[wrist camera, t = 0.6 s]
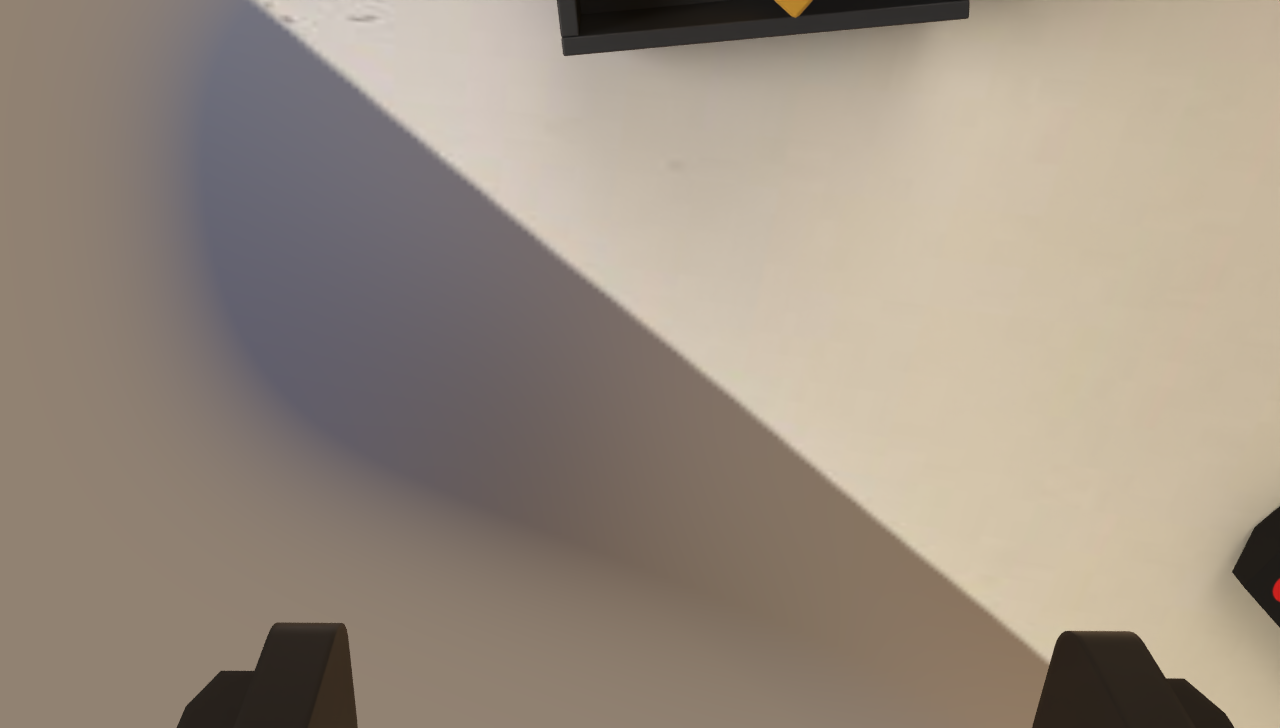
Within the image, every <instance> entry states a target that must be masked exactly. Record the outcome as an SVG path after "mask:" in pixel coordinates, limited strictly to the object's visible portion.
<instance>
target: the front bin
mask: <svg viewBox="0 0 1280 728" xmlns="http://www.w3.org/2000/svg"><path fill="white" fill-rule="evenodd" d="M557 5H558V14H559V22H560V31H561V36H562V48H563V54H564V56H570V55H581V54H592V53H603V52H614V51H624V50H635V49H646V48H657V47H667V46H678V45H689V44H700V43H710V42H721V41H732V40H743V39H753V38H764V37H775V36H786V35H796V34H807V33H818V32H829V31H839V30H850V29H861V28H872V27H882V26H893V25H904V24H915V23H925V22H936V21H947V20H958V19H967V18H968V17H969V0H813V1H812V2H811V3H810V4H809V5H808V6H807V8H806V9H805V10H804V11H803V12H802V13H801V14H800V16H798V17H796V18H795V17H792V16H791V15H790V14H788V13H787V12H786V11H785V10H784V9H783V8H782V7H781V6H780V5H779V4H778V3H776V2H775V1H774V0H557Z"/></svg>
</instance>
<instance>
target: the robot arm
mask: <svg viewBox="0 0 1280 728" xmlns="http://www.w3.org/2000/svg"><path fill="white" fill-rule="evenodd" d="M177 728H357V716H356V706H355V698H354V688H353V679H352V669H351V660H350V651H349V641H348V634H347V629H346V627H345V625H344V624H343V623H275V624H274V625H273V626H272V628H271V630H270V632H269V634H268V636H267V639H266V642H265V644H264V647H263V650H262V652H261V656H260V658H259V660H258V664H257V666H256V669H255V671H221V672H219V673H218V674H217V676H215V677H214V679H213V680H212V681H211V682H210V683H209V684H208V685H207V686H206V687H205V688H204V689H203V690H202V691H201V692H200V693H199V694H198V695H197V696H196V697H195V698H194V699H193V700H192V701H191V702H190V703H189V704H188V705H187V706H186V707H185V710H184V712H183V715H182V717H181V719H180V722H179V724H178V726H177ZM1032 728H1234V726H1233V725H1232V723H1231V722H1230V720H1229V719H1228V717H1227V716H1226V714H1225V713H1224V712H1223V711H1222V710H1221V709H1219V708H1218V707H1217V706H1216V705H1215V704H1213V703H1212V702H1211V701H1210V700H1209V699H1208V698H1206V697H1205V696H1204V695H1203V694H1202V693H1201V692H1199V691H1198V690H1197V689H1196V688H1195V687H1193V686H1192V685H1191V684H1190V683H1189V682H1188V681H1186V680H1185V679H1166V678H1165V676H1164V675H1163V673H1162V672H1161V670H1160V668H1159V667H1158V665H1157V663H1156V662H1155V660H1154V659H1153V657H1152V655H1151V654H1150V652H1149V650H1148V649H1147V647H1146V646H1145V644H1144V643H1143V641H1142V640H1141V638H1140V637H1139V636H1138V635H1136V634H1135V633H1133V632H1129V631H1065V632H1063V633H1062V634H1061V635H1060V636H1059V638H1058V639H1057V642H1056V644H1055V648H1054V651H1053V655H1052V658H1051V662H1050V665H1049V669H1048V673H1047V676H1046V680H1045V683H1044V687H1043V690H1042V694H1041V698H1040V701H1039V705H1038V708H1037V712H1036V715H1035V719H1034V723H1033V727H1032Z"/></svg>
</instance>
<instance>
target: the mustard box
mask: <svg viewBox="0 0 1280 728" xmlns="http://www.w3.org/2000/svg"><path fill="white" fill-rule="evenodd" d="M774 1H775V2H776V3H778V4H779V5H780V6H781V7H782V8H783V9H784V10H785V11H786V12H787V13H788V14H790V15H791V16H792V17H795V18H796V17H798V16H800V14H801V13H802V12H803V11H804V10H805V9H806V8H807V6H808V5H809V4H810V3H811V2H812V1H813V0H774Z"/></svg>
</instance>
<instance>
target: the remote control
mask: <svg viewBox="0 0 1280 728" xmlns="http://www.w3.org/2000/svg"><path fill="white" fill-rule="evenodd" d="M1232 572H1233V574H1234V575H1235V576H1236V578H1237V579H1238V580H1239V581H1240V583H1241V584H1242V585H1243V586H1244V588H1245V589H1246V590H1247V591H1248V592H1249V593H1250V594H1251V596H1252V597H1253V598H1254V599H1255V600H1256V601H1257V602H1258V603H1259V605H1260V606H1261V607H1262V608H1263V609H1264V610H1265V611H1266V613H1267V614H1268V615H1269V616H1270V617H1271V618H1272V619H1273V620H1274V622H1275V623H1276V624H1277V625H1278V626H1279V627H1280V507H1279V508H1277V509H1276V510H1275V511H1274V512H1273V513H1272V514H1270V515H1269V516H1268V517H1267V518H1266V519H1264V520H1263V521H1262V522H1261V523H1260V524H1258V525H1257V526H1256V527H1255V528H1254V530H1253V532H1252V534H1251V536H1250V538H1249V540H1248V542H1247V544H1246V546H1245V548H1244V550H1243V552H1242V554H1241V556H1240V558H1239V559H1238V561H1237V563H1236V565H1235V567H1234V569H1233V571H1232Z"/></svg>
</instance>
